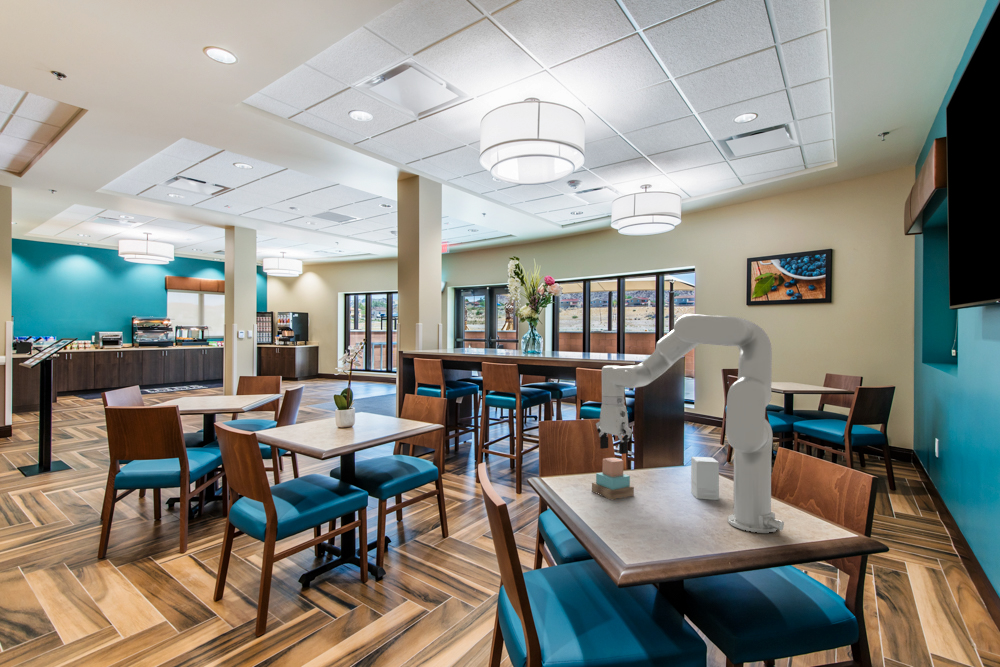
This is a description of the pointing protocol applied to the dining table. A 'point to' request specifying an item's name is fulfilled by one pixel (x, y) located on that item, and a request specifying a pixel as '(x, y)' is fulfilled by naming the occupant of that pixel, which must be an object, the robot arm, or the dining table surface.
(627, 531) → the dining table surface
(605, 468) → the salmon orange cube
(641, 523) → the dining table surface
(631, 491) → the walnut base slab
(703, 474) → the supplement box
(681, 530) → the dining table surface
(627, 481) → the teal top slab
